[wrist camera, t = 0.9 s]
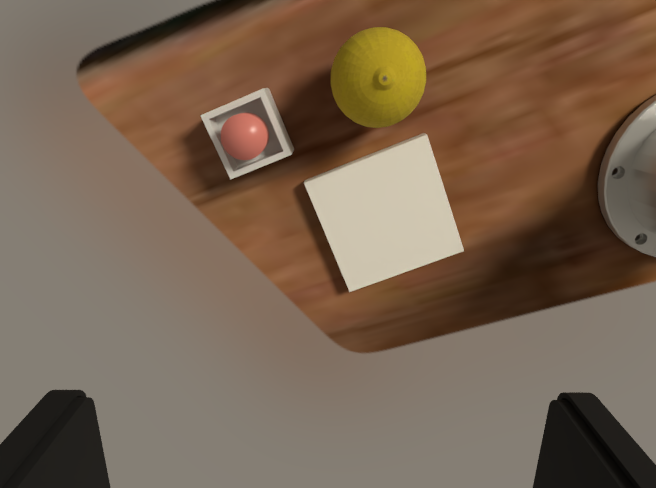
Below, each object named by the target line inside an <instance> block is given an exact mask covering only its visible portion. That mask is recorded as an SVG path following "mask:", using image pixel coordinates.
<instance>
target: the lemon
mask: <svg viewBox="0 0 656 488" xmlns="http://www.w3.org/2000/svg"><path fill="white" fill-rule="evenodd" d="M425 84H426V67H425V63H424V59H423V56H422V54H421V52H420V51H419V49H418V47H417V45H416V44H415V43H414V42H413V41H412V40H411V39H410V38H409V37H408V36H406V35H404V34H403V33H401V32H399V31H398V30H394V29H390V28H386V27H376V28H370V29H366V30H363V31H360V32H359V33H357V34H355V35H354V36H352V37H351V38H349V39H348V40H347V42H346V43H345V44H344V45H343V46H342V47H341V48H340V50H339V52H338V53H337V55H336V57H335V59H334V62H333V66H332V69H331V88H332V93H333V97H334V99H335V101H336V103H337V105H338V107H339V108H340V109H341V111H342V112H343V113H344V114H345V115H346V116H347V117H348V118H350V119H351V120H352V121H354V122H355V123H358V124H360V125H363V126H366V127H374V128H380V127H387V126H391V125H393V124H395V123H398V122H400V121H402V120H403V119H404V118H405V117H407V116H408V115H409V114H410V113H411V112H412V111H413V110H414V109H415V107H416V106H417V105H418V103H419V101H420V99H421V97H422V95H423V92H424V88H425Z"/></svg>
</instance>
